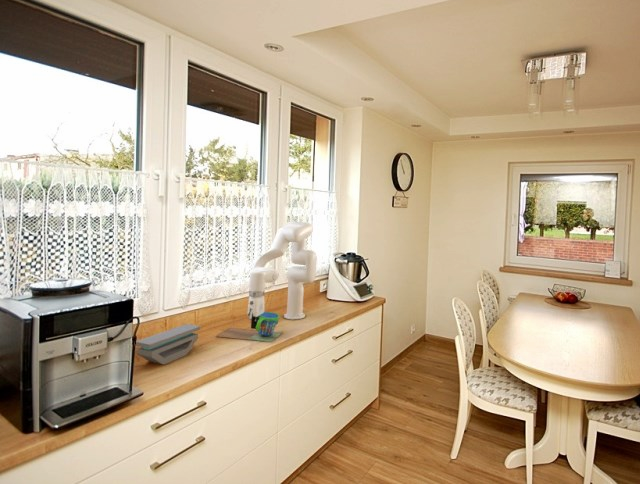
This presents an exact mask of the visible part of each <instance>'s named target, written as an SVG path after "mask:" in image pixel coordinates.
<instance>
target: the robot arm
mask: <svg viewBox="0 0 640 484" xmlns="http://www.w3.org/2000/svg"><path fill="white" fill-rule="evenodd" d="M313 228H314V227H313V225H312V224H311V223H310V222H305V221H304V222H303V221H287V222H286V223H285V225H284V226H283V227H281V226H280V227H279V228H278V229H277V231H276V232H275V233H276V234H275V236H274V238H273V239H272V242H271V245H270V247H269V249H267V250H266V251H264V253H262V254H261V255H260V256H259V257H257V259H256V261H255V263H254V265H253V267H252V270H251V271H250V273H249V289H248V305H247V317H248V320H250V330H256V325H257V322H258V320H259V318H258V316H259V315H261V314H263V313H264V312H265V304H266V303H265V290H266V289H265V287H266V283H267V284H268V283H274V282H276V281H277V280H278V279H279V271H278V270H277V269H276V268H275V269H274V268H270V267H265V266H266V265H267V264H268V263H269V262H270V261H272V260H275V259H278V258H280V257H283V256H284V255H285V253H286V252H287V249H288V246H289V244H290V243H291V253H290V262H291V263H292V264H294V266H291V267H289V268H288V269H287V271H286V277H287V301H286V302H287V304H286V313H284V314H283V318H284V319H285V320H294V321H295V320H302V319H304V318H305V317H306V314H305V313H304V312H303V311H304V295H305V294H304V293H305V288H304V284H312V283H314V281H315V279H316V274H317V261H318V260H317V259H318V257H317V254H316V252H315V251H314V250H312V249H307V240H306V239H307V238H309V237H310V236H311V235H312V233H313ZM304 266H305V267H304Z"/></svg>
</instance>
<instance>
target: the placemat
mask: <svg viewBox="0 0 640 484" xmlns="http://www.w3.org/2000/svg"><path fill="white" fill-rule="evenodd" d="M281 334H282V332H279V331H274V332H273V334H272V335H269V336H264V335H260V334H259V333H258V331H257V330H256V329H246V328H233V327H230V328H228V329H226V330H224V331H223V332H221V333H219V334H218V335H216V338H222V339H234V340H245V341H246V340H247V341H257V342H267V343H272V342H273V341H275V339H277V338H278V337H279V336H280V335H281Z"/></svg>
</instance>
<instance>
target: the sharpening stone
mask: <svg viewBox="0 0 640 484" xmlns="http://www.w3.org/2000/svg"><path fill="white" fill-rule="evenodd" d="M200 330H201V326H200V325H196V324H195V325H194V324H190V323H186V324H183V325H182V324H181V325H180V326H177V327H174V328H171V329H167V330H165V331H162V332H159V333H156V334H153V335H150V336H147V337H143V338H142V339H138V340H135V341H136V346H135V347H138V348H137V349H136V354H137V355H138V356H140V357H141V358H143V359H145V360H146V361H148V362H150V363H155V364H159V365H163V366H164V365H167V364H169V363H171V362H174V361H176V360H178V359H181V358H182V357H185V356H187V355H188V354H189V353H190V351H191V349H192V348H193V347H194V346H195V343H196V342H197V341H198V339H199V334H198V333H195V332H198V331H200Z"/></svg>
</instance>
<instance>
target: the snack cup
mask: <svg viewBox="0 0 640 484" xmlns="http://www.w3.org/2000/svg"><path fill="white" fill-rule="evenodd" d="M258 318H259V320H258V322H257V325H256V329H255V330H257V331H258V333H259V334H260V335H264V336H269V335H272V334H273V332H275V329H276V327H277V325H278V324H279V320H280V315H279V314H278V313H276V312H271V311H264V313H263V314H261V315H259V316H258Z"/></svg>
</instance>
